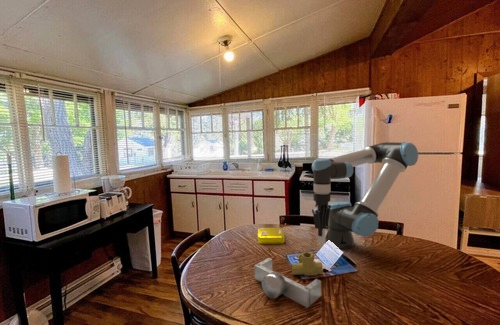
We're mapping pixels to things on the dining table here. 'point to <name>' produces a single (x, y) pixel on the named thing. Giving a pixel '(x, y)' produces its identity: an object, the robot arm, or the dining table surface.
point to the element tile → (270, 236)
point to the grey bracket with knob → (285, 285)
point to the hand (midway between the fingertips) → (321, 242)
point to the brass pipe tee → (307, 265)
